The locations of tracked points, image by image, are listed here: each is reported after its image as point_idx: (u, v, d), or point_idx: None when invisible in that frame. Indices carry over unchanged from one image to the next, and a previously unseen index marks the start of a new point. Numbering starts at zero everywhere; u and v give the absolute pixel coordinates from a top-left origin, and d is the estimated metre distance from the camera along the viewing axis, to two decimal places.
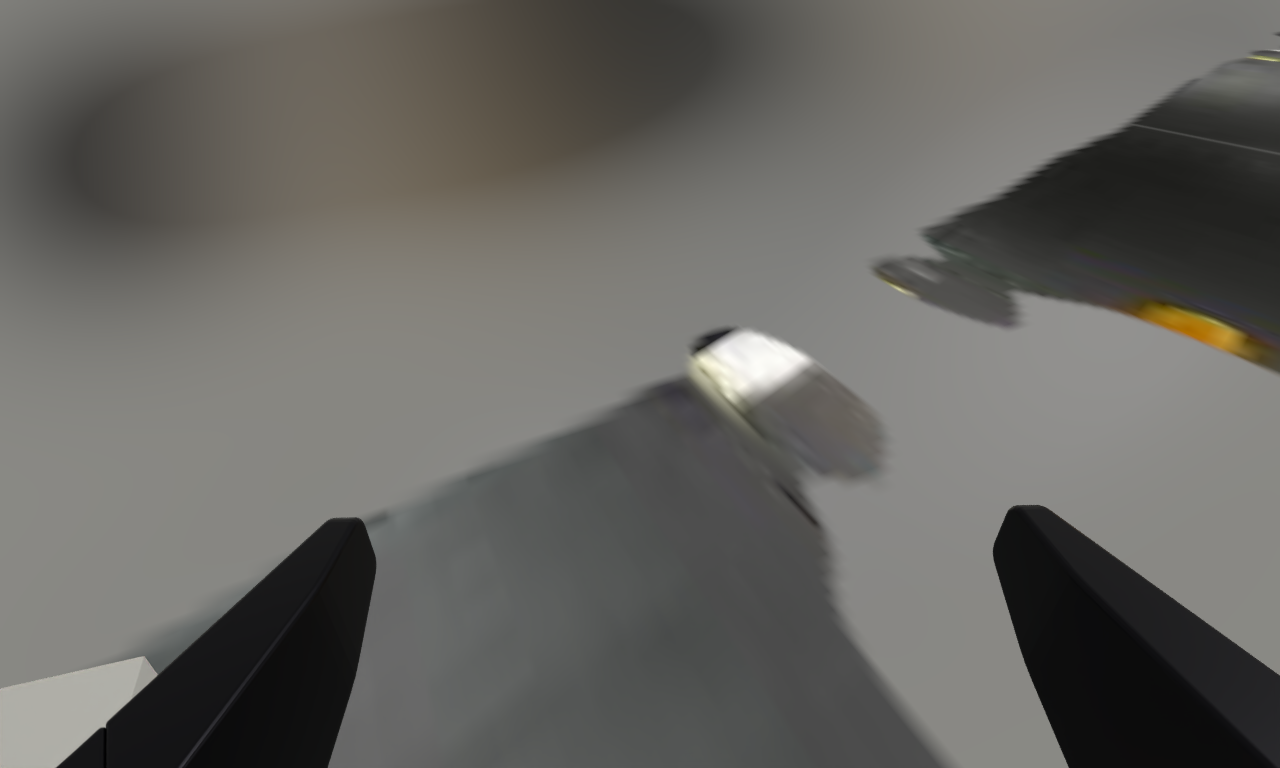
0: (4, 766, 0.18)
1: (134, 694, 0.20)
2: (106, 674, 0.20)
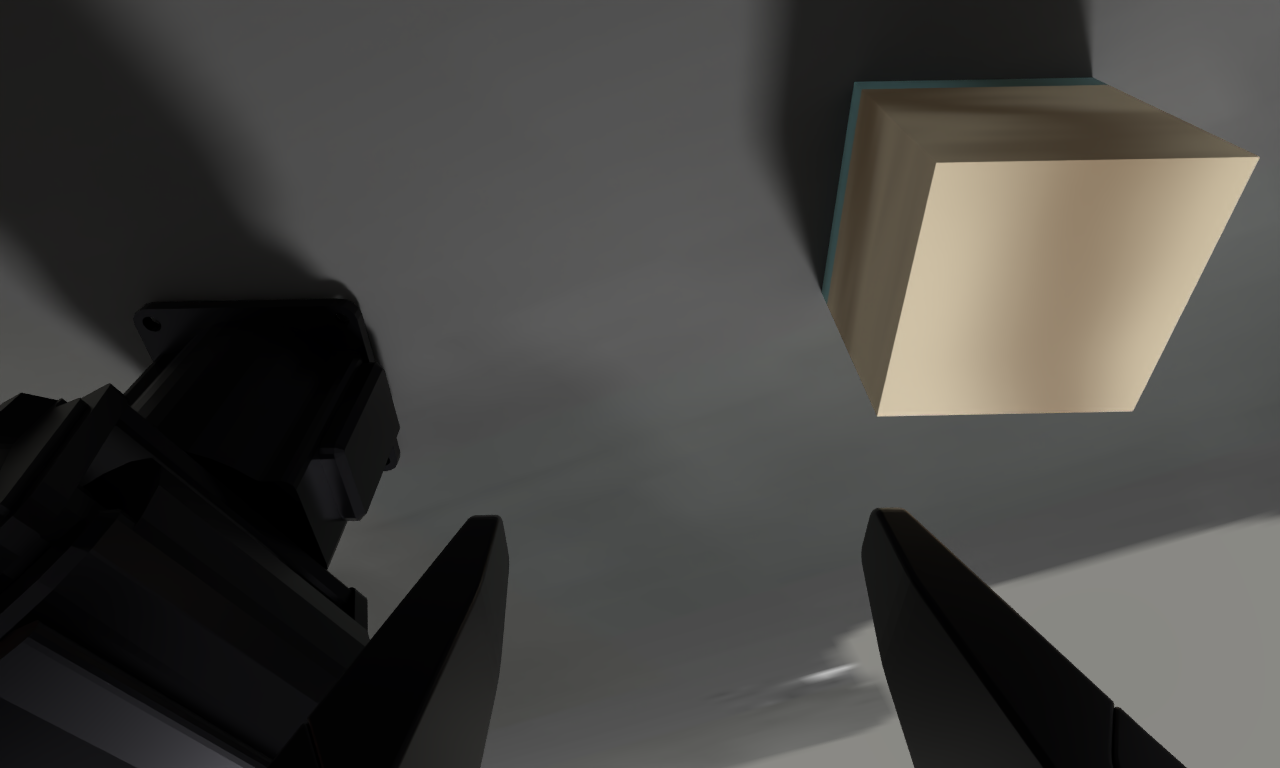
0: None
1: None
2: None
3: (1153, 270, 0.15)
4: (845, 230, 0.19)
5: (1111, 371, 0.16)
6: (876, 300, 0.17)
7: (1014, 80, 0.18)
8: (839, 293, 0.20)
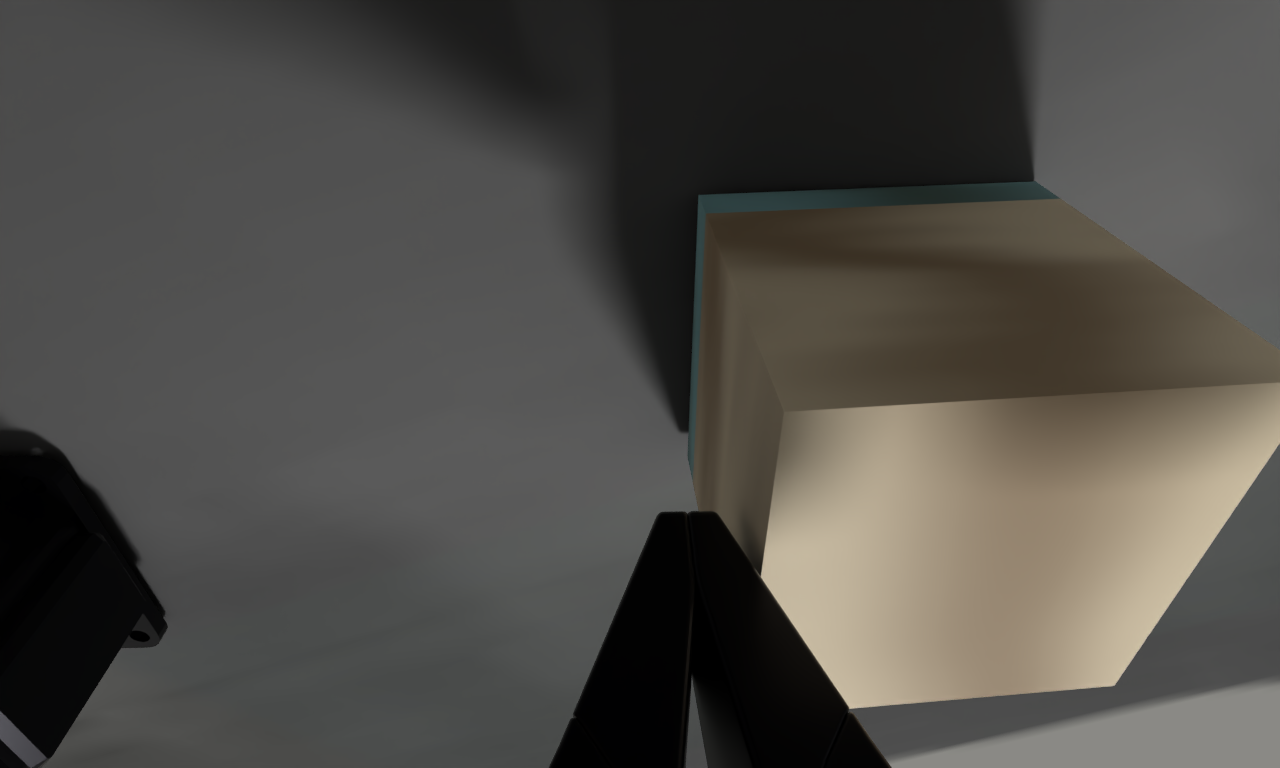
0: None
1: None
2: None
3: (1147, 531, 0.09)
4: (701, 401, 0.13)
5: (1082, 648, 0.11)
6: None
7: (928, 190, 0.12)
8: (701, 482, 0.14)
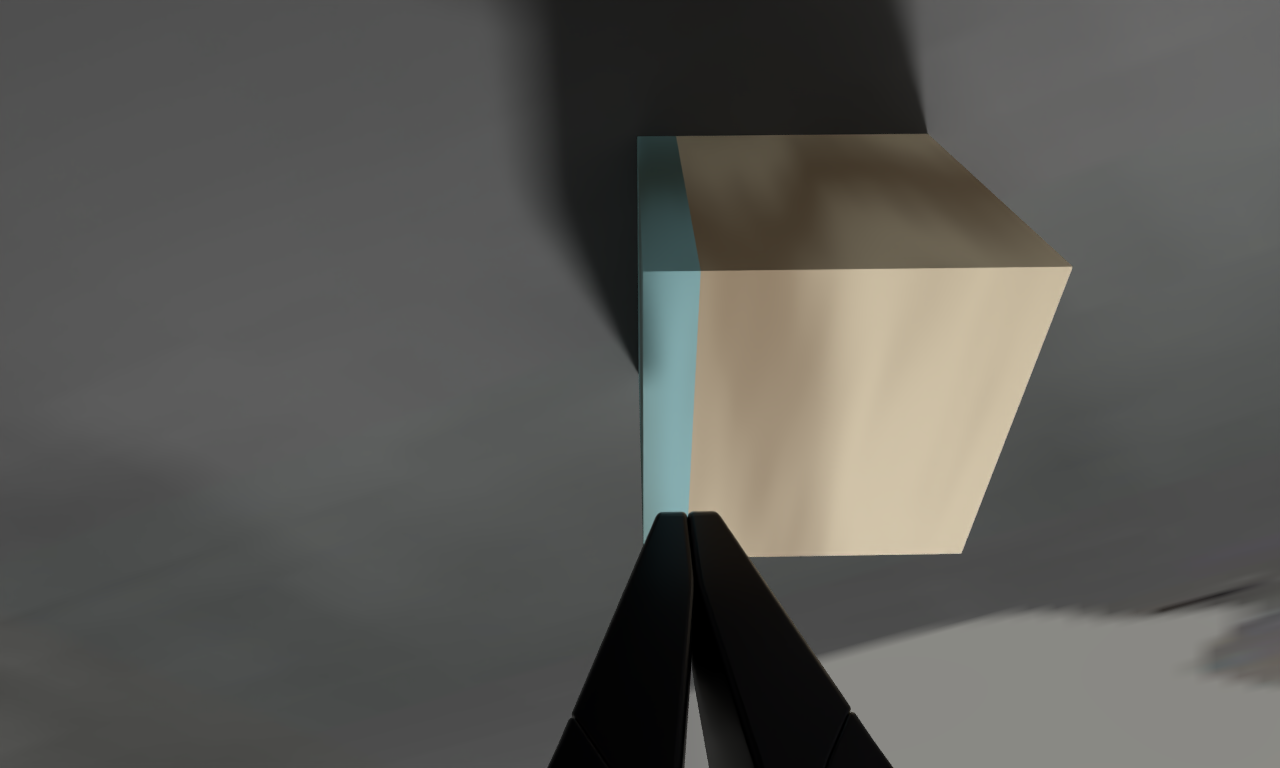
0: None
1: None
2: None
3: None
4: (725, 455, 0.12)
5: None
6: (908, 467, 0.12)
7: (650, 170, 0.13)
8: (741, 524, 0.13)
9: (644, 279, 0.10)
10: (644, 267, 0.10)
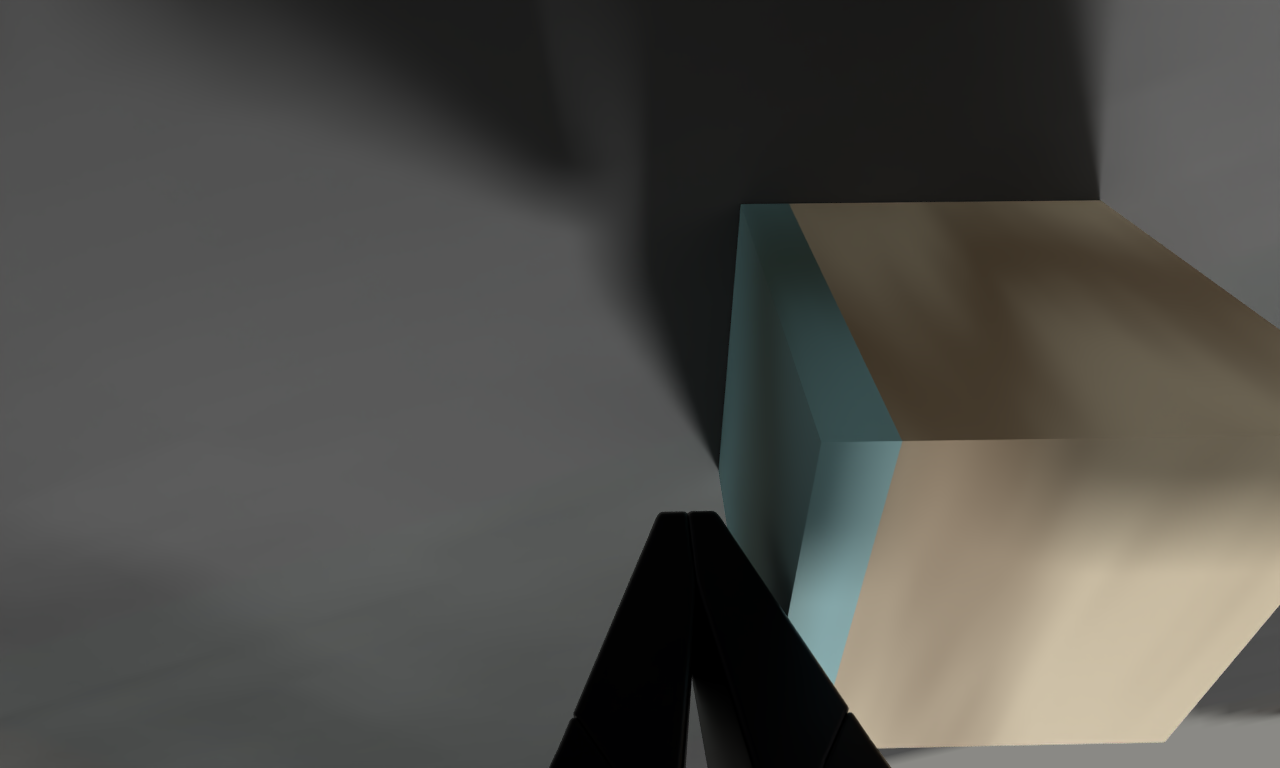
0: None
1: None
2: None
3: None
4: (889, 646, 0.09)
5: None
6: (1125, 656, 0.09)
7: (775, 259, 0.10)
8: (893, 716, 0.10)
9: (821, 451, 0.07)
10: (820, 433, 0.07)
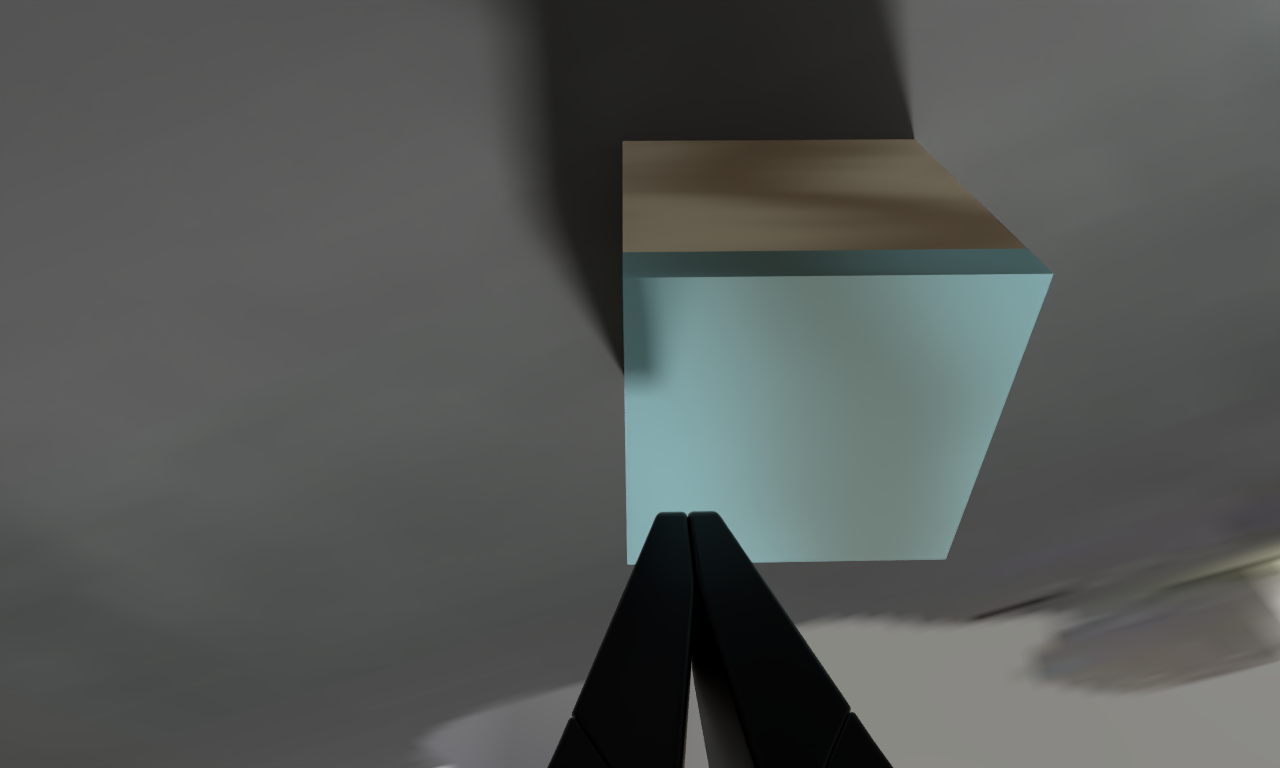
0: None
1: None
2: None
3: None
4: None
5: None
6: None
7: (766, 269, 0.10)
8: None
9: (1049, 281, 0.10)
10: (1042, 273, 0.10)
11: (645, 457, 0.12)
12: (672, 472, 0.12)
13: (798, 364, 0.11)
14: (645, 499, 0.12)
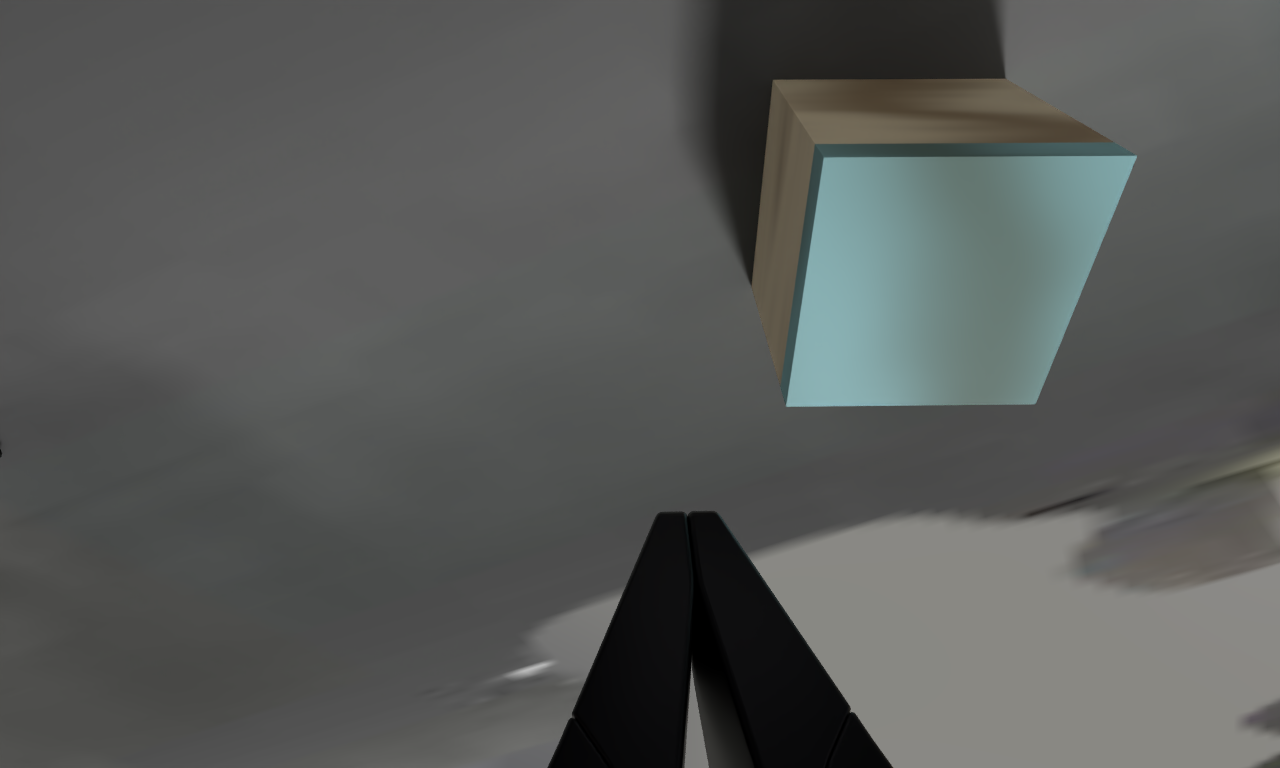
0: None
1: None
2: None
3: None
4: None
5: None
6: None
7: (926, 153, 0.14)
8: None
9: (1133, 162, 0.14)
10: (1129, 155, 0.14)
11: (815, 309, 0.16)
12: (834, 322, 0.16)
13: (942, 229, 0.15)
14: (809, 347, 0.16)
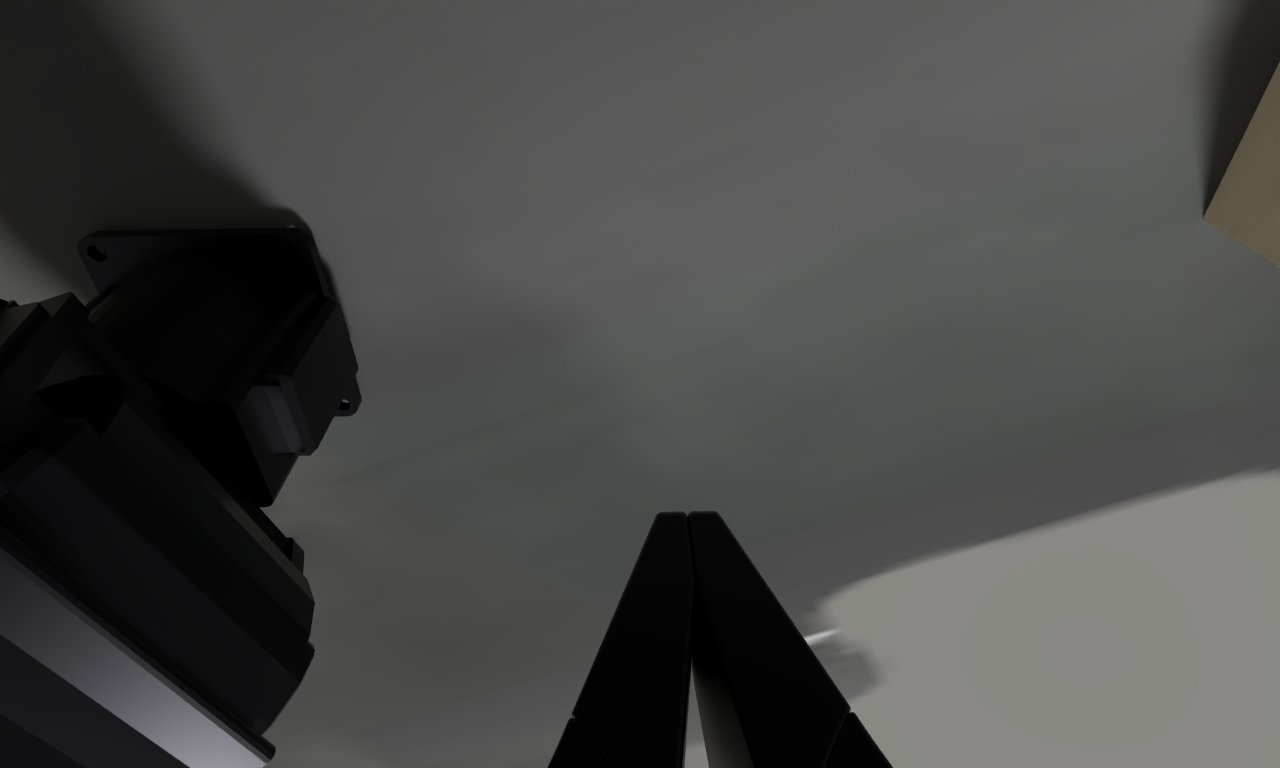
0: None
1: None
2: None
3: None
4: None
5: None
6: None
7: None
8: None
9: None
10: None
11: None
12: None
13: None
14: None
